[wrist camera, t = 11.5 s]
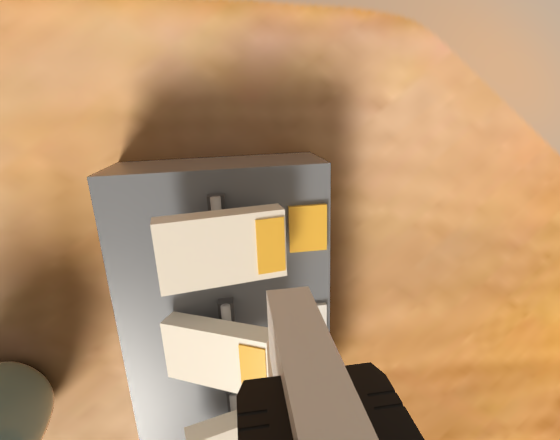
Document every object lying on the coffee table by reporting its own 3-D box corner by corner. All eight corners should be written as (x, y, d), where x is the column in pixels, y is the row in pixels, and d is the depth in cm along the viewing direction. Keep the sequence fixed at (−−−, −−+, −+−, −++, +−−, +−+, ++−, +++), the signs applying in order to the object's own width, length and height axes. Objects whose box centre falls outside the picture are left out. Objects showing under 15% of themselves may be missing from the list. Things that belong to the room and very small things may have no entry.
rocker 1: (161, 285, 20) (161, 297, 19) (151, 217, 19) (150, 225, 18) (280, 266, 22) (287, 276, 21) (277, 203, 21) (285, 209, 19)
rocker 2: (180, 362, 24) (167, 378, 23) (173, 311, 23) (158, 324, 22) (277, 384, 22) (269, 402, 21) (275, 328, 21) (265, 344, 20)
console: (160, 406, 32) (141, 487, 25) (118, 162, 26) (77, 181, 19) (312, 386, 34) (333, 457, 27) (309, 151, 27) (336, 166, 20)
